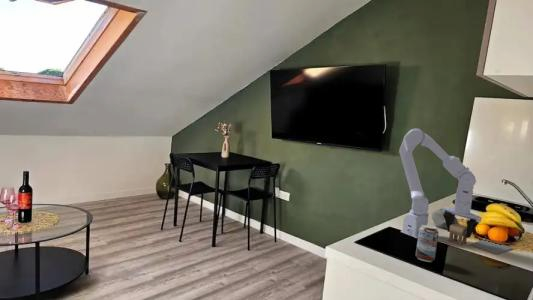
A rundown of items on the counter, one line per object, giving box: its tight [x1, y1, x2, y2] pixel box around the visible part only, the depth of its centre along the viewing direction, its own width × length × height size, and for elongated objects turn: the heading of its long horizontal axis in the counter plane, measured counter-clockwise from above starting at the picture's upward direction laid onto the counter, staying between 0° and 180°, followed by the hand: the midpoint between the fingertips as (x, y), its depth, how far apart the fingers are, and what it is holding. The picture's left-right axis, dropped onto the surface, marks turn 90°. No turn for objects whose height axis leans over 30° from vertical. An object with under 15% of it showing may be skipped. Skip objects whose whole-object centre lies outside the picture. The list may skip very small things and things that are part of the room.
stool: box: [448, 224, 468, 245], centre depth 143 cm, size 5×5×6 cm
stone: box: [431, 208, 459, 230], centre depth 161 cm, size 10×10×10 cm
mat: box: [469, 239, 513, 256], centre depth 141 cm, size 13×10×1 cm
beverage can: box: [415, 224, 440, 263], centre depth 122 cm, size 6×7×12 cm
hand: (458, 234), depth 143 cm, fingers open, 7 cm apart
